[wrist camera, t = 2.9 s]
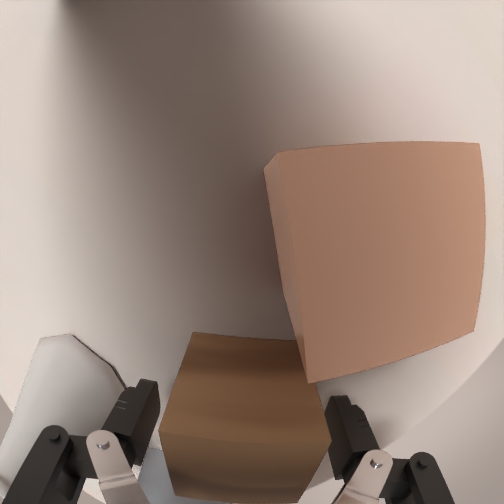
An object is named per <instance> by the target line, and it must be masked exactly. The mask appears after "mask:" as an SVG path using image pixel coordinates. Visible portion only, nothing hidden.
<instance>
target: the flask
mask: <svg viewBox="0 0 504 504" xmlns="http://www.w3.org/2000/svg"><path fill="white" fill-rule="evenodd" d="M124 390H125V389H124V387H123V386H122V384H121V382H120V381H119V379H118V378H117V376H116V374H115V373H114V371H113V369H112V367H111V366H110V365H108V364H107V363H106V362H104V361H103V360H102V359H100V358H99V357H98V356H97V355H95V354H94V353H93V352H91V351H90V350H89V349H88V348H86V347H85V346H84V345H83V344H82V343H80V342H79V341H78V340H77V339H76V338H74V337H73V336H72V335H71V334H64V335H58V336H52V337H45V338H41V339H40V341H39V343H38V345H37V348H36V350H35V352H34V355H33V358H32V360H31V363H30V366H29V369H28V372H27V375H26V378H25V381H24V384H23V386H22V389H21V392H20V395H19V398H18V401H17V404H16V407H15V410H14V414H13V417H12V421H11V424H10V426H9V429H8V431H7V433H6V435H5V437H4V440H3V442H2V445H1V447H0V496H1V497H2V498H5V496H6V494H7V492H8V490H9V488H10V486H11V484H12V482H13V480H14V478H15V477H16V475H17V473H18V471H19V469H20V467H21V466H22V464H23V462H24V460H25V458H26V457H27V455H28V453H29V451H30V450H31V448H32V446H33V445H34V443H35V441H36V440H37V438H38V436H39V435H40V433H41V431H42V430H43V429H44V428H45V427H47V426H50V425H58V426H61V427H63V428H64V429H65V430H66V431H67V432H68V434H69V435H77V436H89V435H90V434H91V433H92V432H94V431H97V430H101V428H102V427H103V425H104V423H105V421H106V419H107V418H108V416H109V414H110V412H111V410H112V409H113V407H114V405H115V403H116V402H117V401H118V398H119V396H120V394H121V393H122V392H123V391H124Z"/></svg>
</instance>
